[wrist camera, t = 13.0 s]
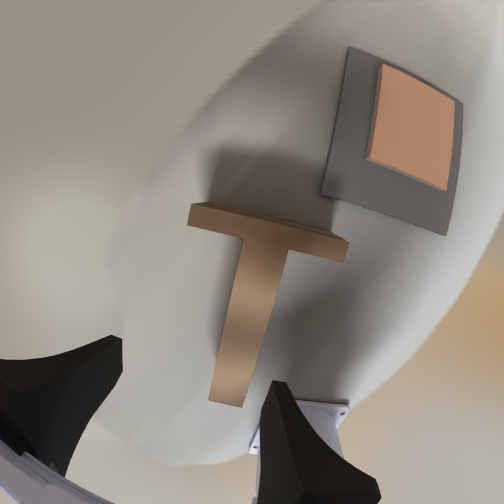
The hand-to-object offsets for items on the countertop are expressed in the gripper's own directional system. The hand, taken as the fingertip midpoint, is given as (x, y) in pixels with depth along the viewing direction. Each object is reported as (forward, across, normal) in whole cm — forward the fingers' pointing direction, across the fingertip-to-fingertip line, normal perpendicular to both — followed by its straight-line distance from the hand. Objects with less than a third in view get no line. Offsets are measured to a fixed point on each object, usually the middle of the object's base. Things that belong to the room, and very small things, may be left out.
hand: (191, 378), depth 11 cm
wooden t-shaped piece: (+10, -2, 0) cm, 10 cm away
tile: (+8, -11, -13) cm, 19 cm away
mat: (+9, -11, -16) cm, 21 cm away
